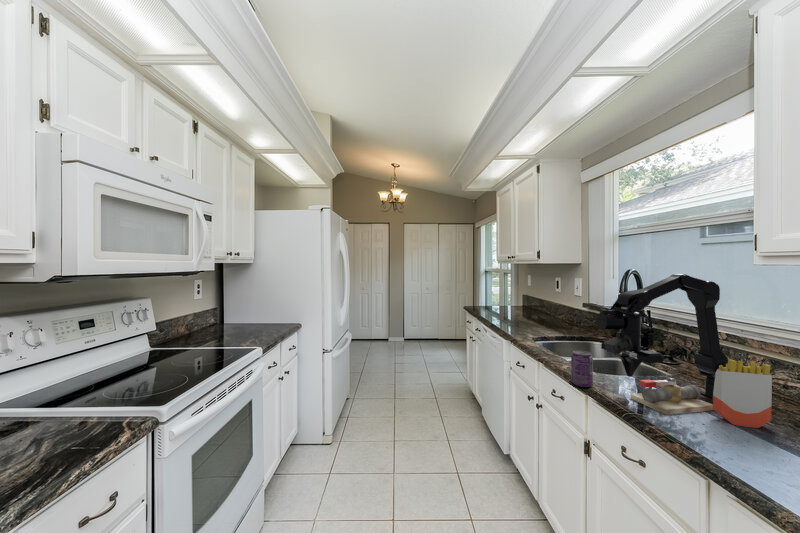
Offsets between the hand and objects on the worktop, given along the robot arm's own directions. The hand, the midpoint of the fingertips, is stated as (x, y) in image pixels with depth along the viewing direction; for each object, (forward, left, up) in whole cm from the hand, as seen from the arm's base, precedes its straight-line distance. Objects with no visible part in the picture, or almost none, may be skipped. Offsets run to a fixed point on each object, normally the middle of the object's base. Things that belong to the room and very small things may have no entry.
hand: (629, 376), depth 111 cm
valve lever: (-4, +7, -1) cm, 8 cm away
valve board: (-9, +7, -7) cm, 13 cm away
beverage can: (+7, -13, -7) cm, 17 cm away
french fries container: (-16, +21, -7) cm, 27 cm away
